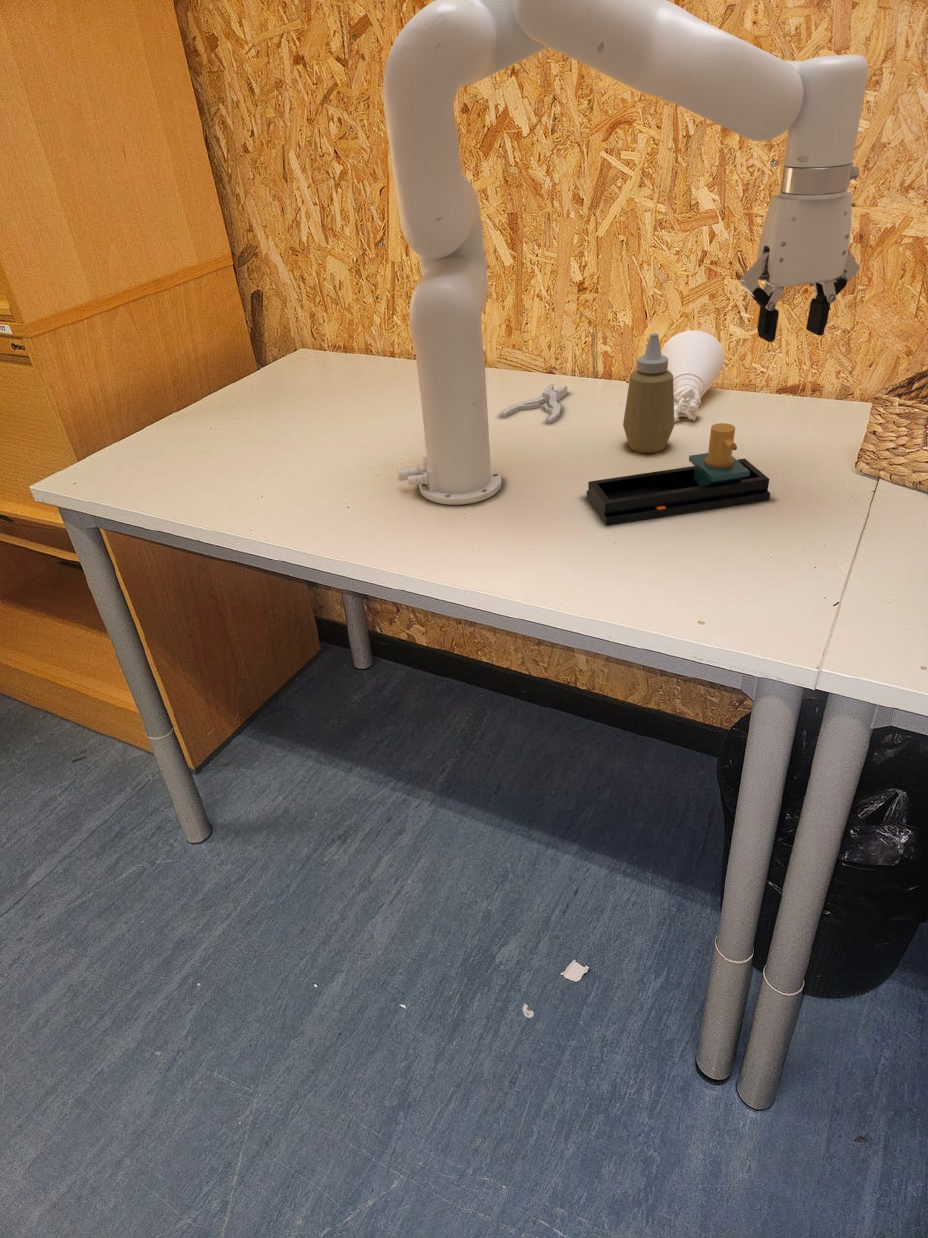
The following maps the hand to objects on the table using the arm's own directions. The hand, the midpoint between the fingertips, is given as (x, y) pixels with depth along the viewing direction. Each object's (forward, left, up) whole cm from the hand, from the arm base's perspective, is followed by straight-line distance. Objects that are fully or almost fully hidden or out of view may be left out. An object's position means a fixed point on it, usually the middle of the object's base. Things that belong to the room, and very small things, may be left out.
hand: (790, 334), depth 107 cm
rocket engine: (+1, +35, -22) cm, 41 cm away
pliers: (-22, +43, -22) cm, 53 cm away
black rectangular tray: (-14, 0, -22) cm, 26 cm away
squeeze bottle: (-11, +19, -22) cm, 31 cm away
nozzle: (-8, 0, -20) cm, 22 cm away
